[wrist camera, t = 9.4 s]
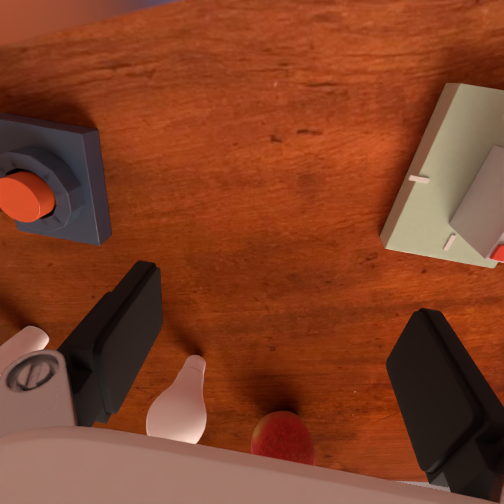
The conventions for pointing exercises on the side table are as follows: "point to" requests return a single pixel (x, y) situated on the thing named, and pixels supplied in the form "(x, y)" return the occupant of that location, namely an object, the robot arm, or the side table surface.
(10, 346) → the cup
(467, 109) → the panel
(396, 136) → the side table surface
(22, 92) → the side table surface
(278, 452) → the apple
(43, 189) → the button
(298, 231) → the side table surface
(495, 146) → the tap handle
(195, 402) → the lightbulb
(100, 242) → the button block
